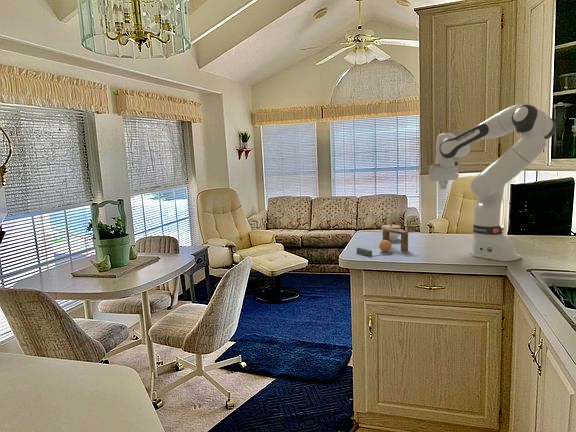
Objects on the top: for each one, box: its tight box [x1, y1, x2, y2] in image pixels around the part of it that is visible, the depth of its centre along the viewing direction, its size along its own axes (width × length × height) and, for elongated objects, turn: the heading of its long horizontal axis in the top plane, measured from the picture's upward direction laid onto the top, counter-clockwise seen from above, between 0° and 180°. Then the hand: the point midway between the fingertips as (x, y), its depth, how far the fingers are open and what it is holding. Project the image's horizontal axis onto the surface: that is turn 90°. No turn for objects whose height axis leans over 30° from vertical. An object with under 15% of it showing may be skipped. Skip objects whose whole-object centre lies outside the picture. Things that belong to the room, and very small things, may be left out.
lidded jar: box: [381, 223, 402, 241], centre depth 249 cm, size 11×11×9 cm
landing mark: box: [368, 248, 393, 257], centre depth 220 cm, size 12×12×1 cm
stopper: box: [356, 247, 372, 257], centre depth 216 cm, size 9×2×2 cm, turn 32°
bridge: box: [382, 228, 409, 252], centre depth 226 cm, size 3×15×10 cm, turn 32°
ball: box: [378, 239, 392, 252], centre depth 219 cm, size 6×6×6 cm
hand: (443, 188), depth 237 cm, fingers closed
